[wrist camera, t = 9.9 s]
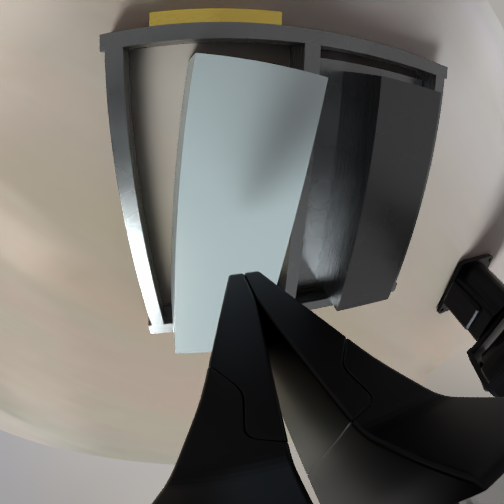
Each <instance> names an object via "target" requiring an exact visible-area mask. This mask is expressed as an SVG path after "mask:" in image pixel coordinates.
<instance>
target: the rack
mask: <svg viewBox="0 0 504 504" xmlns="http://www.w3.org/2000/svg"><path fill="white" fill-rule="evenodd" d="M205 42H250V43H270V44H283V45H291V58H290V68H294V69H298V70H302V71H306V72H310V73H314V74H318V75H321V76H325V77H328V82H327V86H326V91H325V95H324V100H323V104H322V109H321V113H320V118H319V122H318V126H317V130H316V135H315V139H314V143H313V147H312V152H311V156H310V160H309V164H308V168H307V172H306V176H305V180H304V184H303V188H302V192H301V196H300V200H299V204H298V208H297V212H296V216H295V220H294V223H293V227H292V231H291V235H290V238H289V242H288V246H287V250H286V253H285V257H284V261H283V264H282V268H281V272H280V275H279V279H278V282H277V285H278V286H279V287H280V288H282V289H283V290H284V291H285V292H287V293H288V294H289V295H291V296H292V297H293V298H295V299H296V300H297V301H299V302H300V303H301V304H303V305H304V306H305V307H307V308H308V309H309V310H312V309H317V308H322V307H326V306H331V305H334V307H335V309H336V310H337V311H340V310H344V309H349V308H353V307H357V306H361V305H365V304H369V303H374V302H378V301H381V300H385V299H388V297H389V295H390V292H392V291H394V290H395V288H396V285H397V283H396V280H397V277H398V275H399V272H400V269H401V266H402V264H403V261H404V258H405V255H406V252H407V249H408V246H409V243H410V240H411V237H412V234H413V230H414V227H415V224H416V220H417V217H418V213H419V210H420V206H421V203H422V199H423V195H424V191H425V187H426V183H427V179H428V175H429V170H430V166H431V161H432V157H433V152H434V147H435V141H436V136H437V130H438V124H439V118H440V111H441V104H442V96H443V87H444V78H445V79H447V68H448V67H445V66H443V65H440V64H438V63H435V62H433V61H430V60H428V59H425V58H423V57H420V56H417V55H414V54H411V53H408V52H405V51H402V50H399V49H396V48H393V47H390V46H386V45H383V44H379V43H376V42H372V41H368V40H364V39H360V38H356V37H352V36H347V35H343V34H338V33H333V32H328V31H322V30H316V29H310V28H303V27H295V26H287V25H282V12H278V11H268V10H255V9H234V8H202V9H181V10H168V11H158V12H150V13H149V26H148V27H141V28H134V29H128V30H122V31H116V32H111V33H106V34H102V35H100V52H104V53H105V71H106V90H107V103H108V114H109V124H110V134H111V142H112V150H113V157H114V164H115V171H116V177H117V183H118V189H119V194H120V200H121V205H122V210H123V215H124V220H125V225H126V230H127V234H128V239H129V243H130V248H131V252H132V256H133V260H134V264H135V268H136V272H137V276H138V280H139V283H140V287H141V291H142V294H143V298H144V301H145V305H146V308H147V311H148V315H149V329H150V332H151V334H156V333H165V332H173V318H172V304H167V305H163V302H162V298H161V294H160V290H159V285H158V281H157V276H156V272H155V267H154V262H153V257H152V252H151V247H150V242H149V237H148V231H147V226H146V220H145V214H144V208H143V202H142V195H141V189H140V182H139V174H138V166H137V158H136V150H135V140H134V130H133V119H132V106H131V90H130V67H129V50H132V49H138V48H146V47H153V46H162V45H173V44H186V43H205ZM321 49H324V50H330V51H336V52H342V53H347V54H352V55H357V56H362V57H366V58H370V59H375V60H379V61H383V62H387V63H390V64H394V65H398V66H401V67H404V68H408V69H411V70H414V71H417V76H416V78H413V77H409V76H406V75H402V74H398V73H395V72H391V71H387V70H383V69H379V68H374V67H370V66H365V65H360V64H355V63H350V62H344V61H338V60H332V59H326V58H320V53H321Z"/></svg>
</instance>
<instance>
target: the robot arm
mask: <svg viewBox="0 0 504 504" xmlns="http://www.w3.org/2000/svg"><path fill="white" fill-rule="evenodd" d="M492 258H493V256H492V255H491V254H487V255H483V256H480V257H476V258H472V259H468V260H465V261H461V262H460V263H459V265H458V266H457V269H456V271H455V273H454V275H453V277H452V280H451V282H450V284H449V286H448V288H447V290H446V292H445V294H444V296H443V298H442V300H441V302H440V304H439V306H438V308H437V312H438V313H439V314H440V313H443V312H445V311H448V310H450V311H451V312H452V314H453V315H454V316H455V317H456V318H457V320H458V321H459V322H460V323H461V325H462V326H463V327H464V328H465V329H467V330H468V331H469V332H470V333H471V335H472V336H473V337H474V339H475V340H476V341H477V342H476V344H475V345H474V346H473V347H472V348H470V349H469V350H468V351H467V354H468V357H469V360H470V361H471V363H472V365H473V367H474V369H475V371H476V373H477V375H478V377H479V378H480V380H481V383H482V385H483V388H484V390H485V391H489V392H490V393H491V394H492V395H493V396H494V397H488V398H485V397H484V398H483V397H482V398H481V397H480V398H479V397H476V398H475V397H450V396H444V395H440V394H438V393H435V392H433V391H431V390H429V389H427V388H425V387H423V386H421V385H420V384H418V383H416V382H414V381H413V380H411V379H409V378H407V377H406V376H404V375H402V374H401V373H399V372H397V371H395V370H394V369H392V368H390V367H389V366H387V365H385V364H384V363H382V362H381V361H379V360H377V359H376V358H374V357H373V356H371V355H370V354H369V353H367V352H366V351H364V350H363V349H361V348H360V347H359V346H357V345H356V344H355V343H353V342H352V341H351V340H349V339H346V337H345V336H344V335H342V334H341V333H340V332H338V331H337V330H336V329H334V328H333V327H332V326H330V325H329V324H328V323H326V322H325V321H324V320H322V319H321V318H320V317H318V316H317V315H316V314H314V313H313V312H312V311H311V310H309V309H308V308H307V307H305V306H304V305H303V304H301V303H300V302H299V301H297V300H296V299H295V298H293V297H292V296H291V295H289V294H288V293H287V292H285V291H284V290H283V289H282V288H280V287H279V286H278V285H276V284H275V283H274V282H272V281H271V280H270V279H268V278H267V277H266V276H265V275H263V274H262V273H261V272H259V271H254V272H247V273H245V274H242V273H240V274H232V275H229V277H228V281H227V286H226V290H225V294H224V299H223V303H222V308H221V312H220V316H219V321H218V325H217V330H216V334H215V339H214V343H213V348H212V353H211V357H210V362H209V368H208V370H207V375H206V379H205V383H204V387H203V391H202V395H201V399H200V402H199V405H198V408H197V411H196V414H195V417H194V419H193V422H192V424H191V427H190V429H189V432H188V435H187V437H186V440H185V442H184V445H183V447H182V450H181V453H180V455H179V458H178V460H177V463H176V465H175V467H174V470H173V472H172V474H171V476H170V478H169V480H168V481H167V483H166V485H165V487H164V488H163V489H162V491H161V492H160V493H159V495H158V496H157V497H156V499H155V500H154V501H153V503H152V504H313V503H312V501H311V499H310V497H309V495H308V493H307V491H306V489H305V487H304V485H303V483H302V481H301V479H300V476H299V474H298V472H297V470H296V468H295V466H294V463H293V459H292V456H291V453H290V449H289V445H288V443H287V442H288V440H287V435H286V431H285V427H284V422H283V419H284V421H285V424H286V426H287V428H288V431H289V433H290V436H291V438H292V440H293V443H294V445H295V447H296V450H297V452H298V454H299V457H300V459H301V461H302V464H303V466H304V468H305V471H306V473H307V474H308V478H309V480H310V482H311V485H312V487H313V489H314V491H315V494H316V496H317V498H318V500H319V503H320V504H504V284H503V283H502V282H501V281H500V280H499V279H498V278H497V277H496V276H495V275H494V274H493V273H492V272H491V271H490V270H489V269H488V267H489V265H490V262H491V260H492ZM282 416H283V418H282Z"/></svg>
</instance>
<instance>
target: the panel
mask: <svg viewBox="0 0 504 504" xmlns="http://www.w3.org/2000/svg"><path fill="white" fill-rule="evenodd" d="M327 82H328V77H325V76H321V75H318V74H314V73H310V72H306V71H302V70H298V69H294V68H290V67H285V66H280V65H276V64H271V63H266V62H260V61H255V60H249V59H243V58H236V57H229V56H221V55H213V54H203V53H195V54H194V55H193V56H192V57H191V59H190V60H189V62H188V68H187V74H186V81H185V88H184V95H183V103H182V111H181V119H180V128H179V138H178V148H177V159H176V171H175V184H174V199H173V218H172V243H171V301H172V318H173V332H174V344H175V353H200V352H212V348H213V343H214V339H215V334H216V330H217V325H218V321H219V316H220V312H221V308H222V303H223V299H224V294H225V290H226V286H227V281H228V277H229V275H232V274H240V273H242V274H245V273H247V272H254V271H259V272H261V273H262V274H263V275H265V276H266V277H267V278H268V279H270V280H271V281H272V282H274V283H275V284H276V285H277V282H278V279H279V275H280V272H281V268H282V264H283V261H284V257H285V253H286V250H287V246H288V242H289V238H290V235H291V231H292V227H293V223H294V220H295V216H296V212H297V208H298V204H299V200H300V196H301V192H302V188H303V184H304V180H305V176H306V172H307V168H308V164H309V160H310V156H311V152H312V147H313V143H314V139H315V135H316V130H317V126H318V122H319V118H320V113H321V109H322V104H323V100H324V95H325V91H326V86H327Z"/></svg>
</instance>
